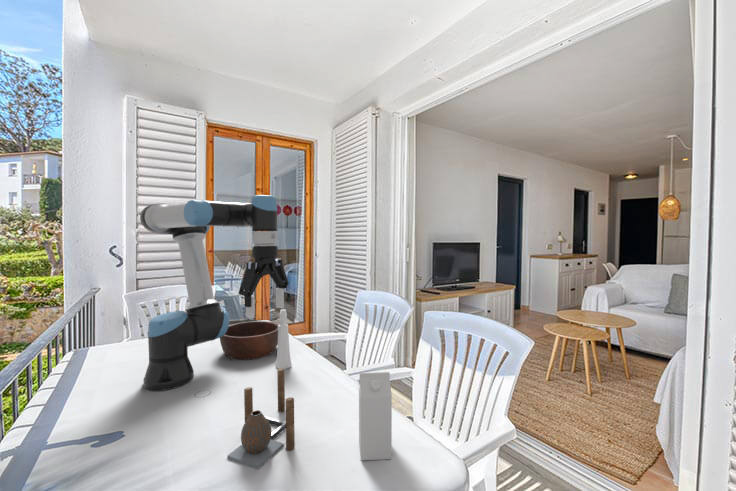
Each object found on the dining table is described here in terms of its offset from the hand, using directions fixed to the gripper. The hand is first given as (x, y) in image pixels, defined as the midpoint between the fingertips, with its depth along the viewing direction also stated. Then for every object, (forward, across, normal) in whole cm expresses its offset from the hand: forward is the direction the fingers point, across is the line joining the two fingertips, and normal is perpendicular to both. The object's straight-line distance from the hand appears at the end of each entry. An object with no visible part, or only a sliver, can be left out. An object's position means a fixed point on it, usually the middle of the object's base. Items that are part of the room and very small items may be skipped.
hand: (266, 312), depth 108 cm
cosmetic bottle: (+27, +21, +10) cm, 36 cm away
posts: (+27, -12, -16) cm, 34 cm away
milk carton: (+27, -11, -42) cm, 51 cm away
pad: (+27, -23, -16) cm, 39 cm away
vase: (+26, -23, -16) cm, 38 cm away
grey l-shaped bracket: (+27, -15, -12) cm, 33 cm away
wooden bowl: (+27, +28, +33) cm, 51 cm away
